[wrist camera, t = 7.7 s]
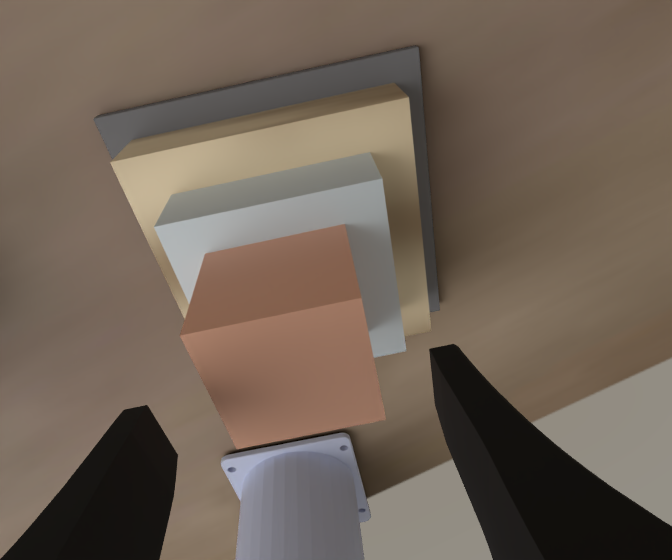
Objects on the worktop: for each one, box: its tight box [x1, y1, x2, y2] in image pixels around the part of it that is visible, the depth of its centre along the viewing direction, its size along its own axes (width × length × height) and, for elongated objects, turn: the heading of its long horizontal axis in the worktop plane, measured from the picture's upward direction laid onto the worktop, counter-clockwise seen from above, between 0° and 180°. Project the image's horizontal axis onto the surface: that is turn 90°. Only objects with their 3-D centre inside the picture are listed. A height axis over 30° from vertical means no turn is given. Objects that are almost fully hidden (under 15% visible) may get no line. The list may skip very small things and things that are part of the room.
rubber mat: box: [94, 45, 440, 312], centre depth 20 cm, size 12×12×1 cm
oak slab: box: [110, 83, 431, 337], centre depth 19 cm, size 10×10×2 cm
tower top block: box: [154, 152, 406, 357], centre depth 17 cm, size 7×7×2 cm
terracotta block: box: [180, 224, 386, 449], centre depth 14 cm, size 4×4×4 cm
